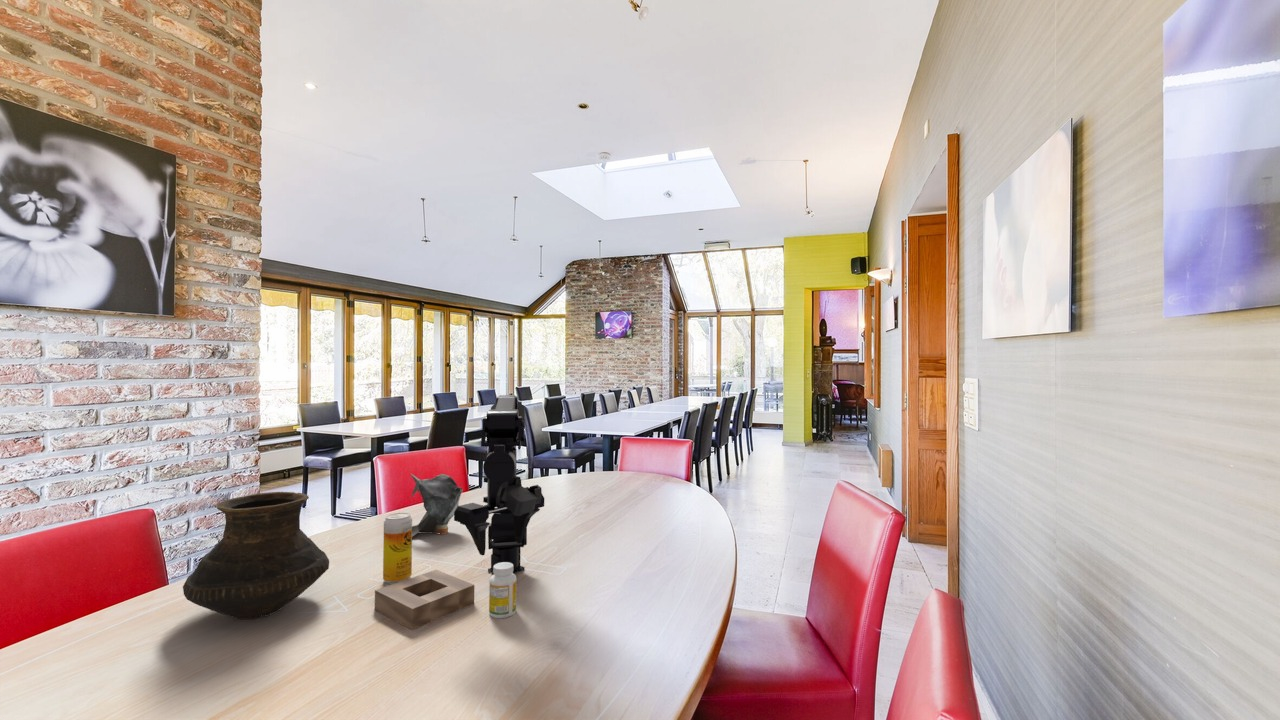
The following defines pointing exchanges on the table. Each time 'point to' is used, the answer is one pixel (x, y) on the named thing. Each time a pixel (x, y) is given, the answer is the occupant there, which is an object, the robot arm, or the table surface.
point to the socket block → (424, 598)
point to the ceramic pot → (257, 558)
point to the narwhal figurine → (437, 503)
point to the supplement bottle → (502, 591)
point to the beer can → (397, 548)
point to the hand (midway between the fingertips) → (501, 548)
